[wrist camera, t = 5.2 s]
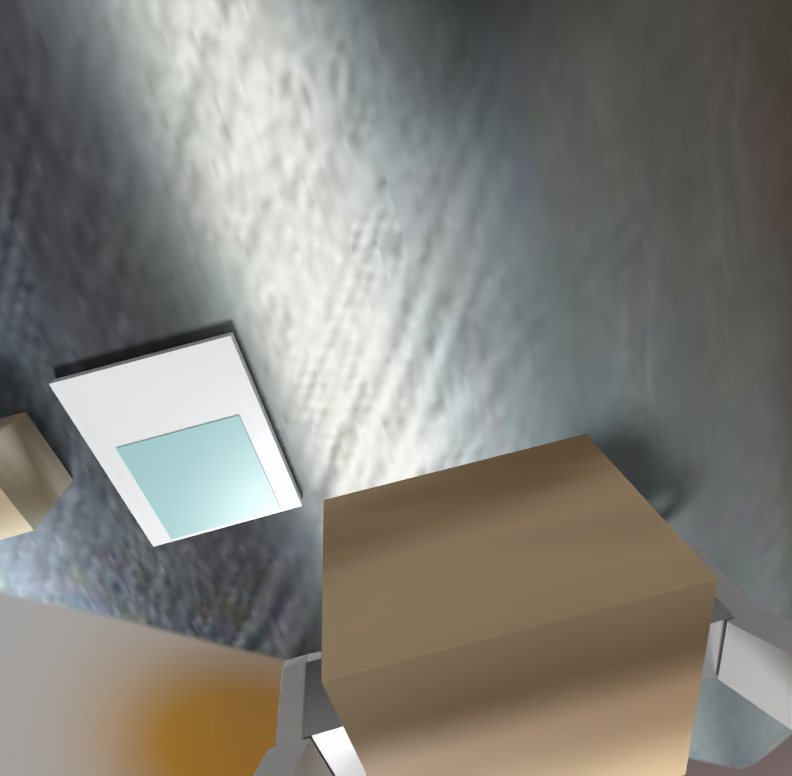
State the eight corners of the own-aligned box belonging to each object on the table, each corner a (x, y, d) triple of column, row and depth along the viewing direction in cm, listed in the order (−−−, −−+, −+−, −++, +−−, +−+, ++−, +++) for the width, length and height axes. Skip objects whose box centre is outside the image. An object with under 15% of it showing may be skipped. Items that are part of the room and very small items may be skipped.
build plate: (55, 378, 23) (48, 384, 23) (232, 331, 23) (230, 335, 23) (156, 539, 28) (153, 547, 28) (302, 499, 28) (301, 506, 28)
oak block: (323, 500, 10) (321, 681, 7) (585, 433, 10) (717, 578, 7) (383, 661, 13) (403, 849, 10) (589, 607, 13) (684, 774, 10)
